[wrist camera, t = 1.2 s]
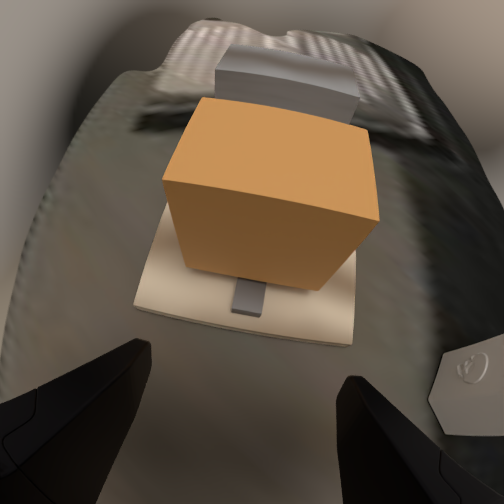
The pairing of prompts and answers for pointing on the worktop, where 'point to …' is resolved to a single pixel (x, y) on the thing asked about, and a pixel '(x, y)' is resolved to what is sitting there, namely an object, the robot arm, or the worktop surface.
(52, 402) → the robot arm
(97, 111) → the worktop surface
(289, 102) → the stand
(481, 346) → the jar
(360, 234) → the orange-brown rectangular block
